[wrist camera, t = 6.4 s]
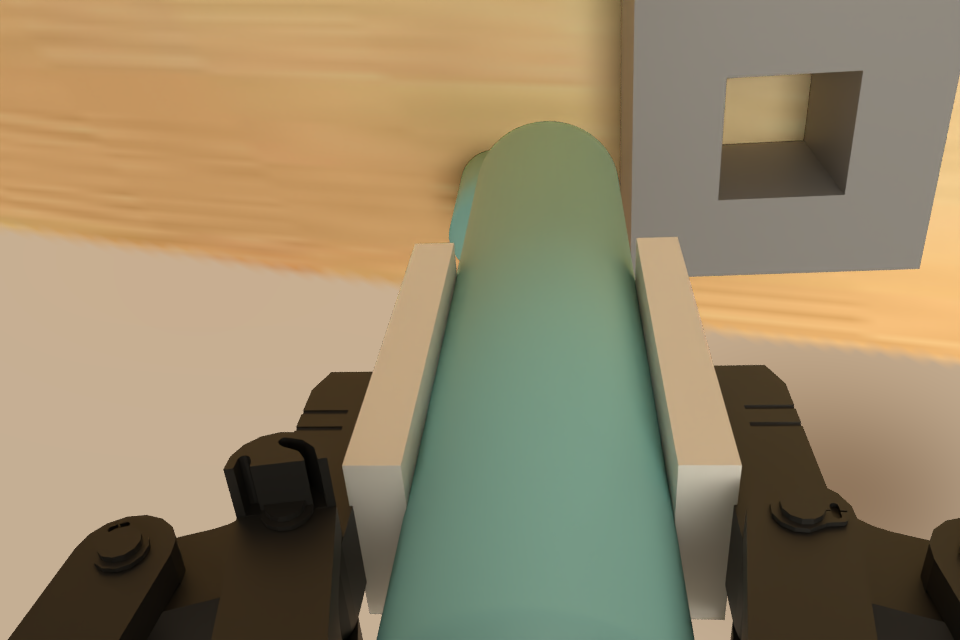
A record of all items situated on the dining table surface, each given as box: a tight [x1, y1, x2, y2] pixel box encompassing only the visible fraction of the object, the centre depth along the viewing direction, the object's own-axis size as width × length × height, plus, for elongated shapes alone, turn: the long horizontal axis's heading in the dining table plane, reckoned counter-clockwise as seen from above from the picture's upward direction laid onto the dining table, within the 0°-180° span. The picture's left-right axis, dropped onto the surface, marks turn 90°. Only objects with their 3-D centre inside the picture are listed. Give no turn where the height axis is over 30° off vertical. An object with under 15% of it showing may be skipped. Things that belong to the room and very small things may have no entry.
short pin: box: [449, 150, 490, 260], centre depth 40 cm, size 4×4×6 cm
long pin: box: [377, 121, 694, 640], centre depth 16 cm, size 4×4×15 cm
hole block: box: [620, 0, 960, 277], centre depth 37 cm, size 12×12×6 cm
